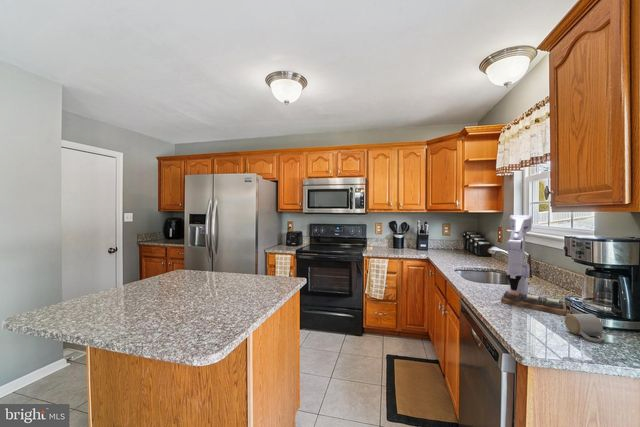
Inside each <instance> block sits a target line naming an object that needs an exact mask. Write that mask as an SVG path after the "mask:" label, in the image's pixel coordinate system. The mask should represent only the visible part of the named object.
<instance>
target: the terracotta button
mask: <svg viewBox="0 0 640 427" xmlns="http://www.w3.org/2000/svg"><path fill="white" fill-rule="evenodd" d="M508 291H509V292H508V294H510V295H515V296H520V293H518V292H512V291H510V290H508Z"/></svg>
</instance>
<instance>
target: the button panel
mask: <svg viewBox="0 0 640 427" xmlns="http://www.w3.org/2000/svg"><path fill="white" fill-rule="evenodd" d="M509 291H510V290H506V291H505V292H504V294H503V295H502V297H501V298H500V303H502V304H505V305H512V306H516V307H521V308H526V309H531V310H536V311H540V312H545V313H549V314H556V315H560V316H565V317H566V316H567V310H566V309H567V308H566V306H567V305H566V304H565V303H564V301H563V300H560V299H558V300H559V304H558V303H553V302H547V298H548V297H541V296H539V300H537V299H531V298H527V295H525V294H524V295H523V294H521V293H520V296H515V295H510V294H508V292H509Z"/></svg>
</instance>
